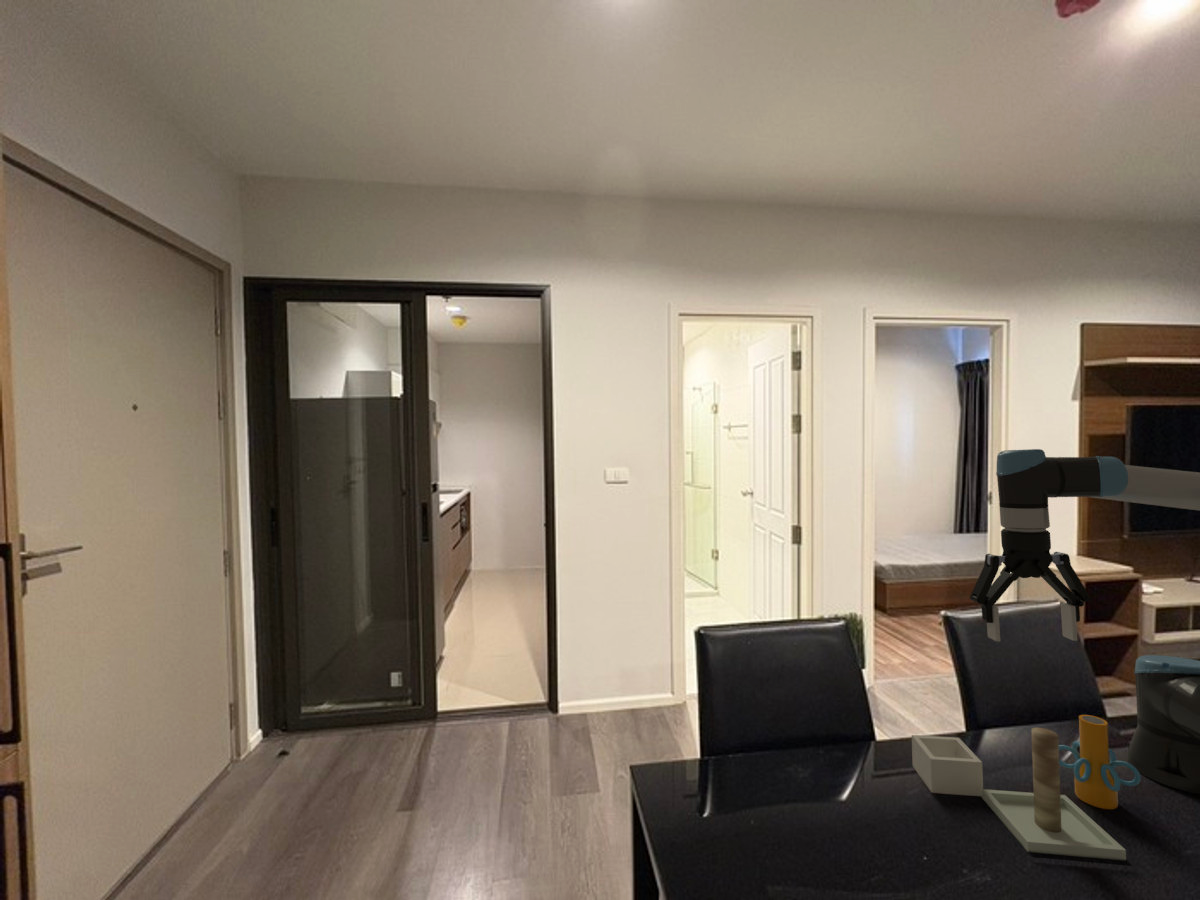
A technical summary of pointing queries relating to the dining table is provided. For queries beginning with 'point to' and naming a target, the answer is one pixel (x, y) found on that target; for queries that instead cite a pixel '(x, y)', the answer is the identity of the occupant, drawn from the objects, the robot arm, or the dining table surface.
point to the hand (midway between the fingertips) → (1031, 639)
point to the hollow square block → (947, 765)
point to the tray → (1073, 839)
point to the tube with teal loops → (1096, 765)
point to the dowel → (1046, 779)
